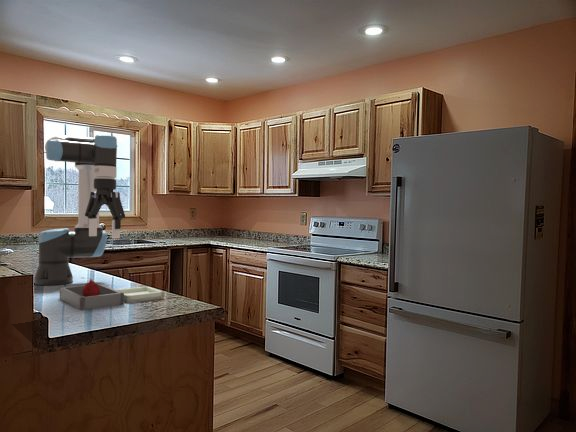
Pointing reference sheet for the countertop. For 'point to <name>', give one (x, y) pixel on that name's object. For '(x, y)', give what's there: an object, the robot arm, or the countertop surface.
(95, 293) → the onion
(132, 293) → the tray
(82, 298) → the bin
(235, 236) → the countertop surface
